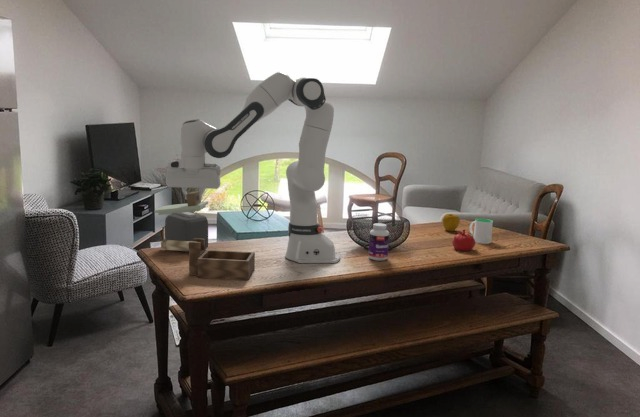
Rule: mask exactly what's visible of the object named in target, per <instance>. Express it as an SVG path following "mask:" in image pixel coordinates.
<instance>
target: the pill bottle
mask: <svg viewBox="0 0 640 417" xmlns="http://www.w3.org/2000/svg"><path fill="white" fill-rule="evenodd" d="M387 228H388V225H387V224H385V223H380V222H378V223H377V222H376V223H373V224H372V229H371V230H370V231H369V235H368V237H369V238H368V239H369V240H368V254H367V255H368V256H367V257H368V258H369V260H373V261H377V262H378V261H380V262H382V261H386V260H387V259H388V258H389V245H390V244H389V243H390V232H389V230H387Z"/></svg>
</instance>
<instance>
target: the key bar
mask: <svg viewBox="0 0 640 417" xmlns="http://www.w3.org/2000/svg"><path fill="white" fill-rule="evenodd" d="M189 242H195V241H174V240H166V239H163V240H162V241H161V242H160V250H161V251H180V252H182V251H189Z"/></svg>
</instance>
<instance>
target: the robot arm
mask: <svg viewBox="0 0 640 417" xmlns="http://www.w3.org/2000/svg"><path fill="white" fill-rule="evenodd" d="M324 89H325V88H324V86H323V84H322V82H321V81H320V79H318V78H316V77H314V76H302V77H299V78H298V79H293V78H291V77H290V75H288V74H287V73H285V72H283V71H277V72H275V73H273V74H271V75H270V76H268V77H267V78H265V79H264V80H262V81H261V83H259V84H258V85H256V87H255V88H253V90H252V91H251V92H250V93H249V94H248V95H247V97H246V99H245V103H244V105H243V108H242V110H241V111H240V112H239V113H238V114H237V115H236V116H235V117H234V118H232V119H231V120H230V121H229V123H227V124H226V125H225V126H223V127H221V128H217V127H215V126H213V125H211V124H209V123H206V122H205V121H204V120H203V119H200V118H199V119H198V118H197V119H190V120H186V121H184V122H183V123H182V124H181V128H180V146H181V152H180V158H177V159H175V160H171V161H169V162H168V163H167V166H168V169H167V170H166V175H165V184H166V186H167V187H168V188H181V192H182V193H183V195H184V199H185V200H187V197H186V194H188V191H187V190H188V189H199V192H200V195H197V200H201V201H202V200H203V195H204V193H205V191H206V189H212V190H214V189H215V190H217V189H219V188H220V187H221V177H220V175H221V167H220V166H219V165H218V164H216V163H206V153H207V154H208V155H209V156H211V157H213V158H216V159H222V158H223V159H224V158H226V157H227V156H229V155H230V154H231V153H232V151H233V150H234V146H235V144H236V143H237V141H238V140H239V138H241V137H242V136H243V135H244V134H245V133H246V132H247V131H248V130H249V129H250V128H251V127H252V126H253V125H255V124H256V123H257V122H259V121H260V120H262V119H263V118H265V117H268V116H269V115H271V113H274V112H275V111H276V110H277V109H278V108H279V107H280V106H281V105H282V104H283V103H285V102H286V101H289V102H291V103H292V104H294V105H296V106H298V107H304V109H305V120H304V123H303V126H302V130H301V134H300V137H299V140H298V141H299V142H298V160H295V161H293V162H290V164H288V166H287V168H286V170H285V175H286V180H287V189H288V190H287V191H288V196H289V198H288V199H289V222H288V225H287V226H288V228H287V230H288V231H287V233H288V242H287V248H286V252H285V255H284V257H285V258H286V259H288V260H290V261H293V262H295V263H298V264H330V263H331V264H336V263H338V262H339V261H341V260H340V259H341V255H340V253H339V252H337V251H336V249H335V248H336V247H335V244H334V242H333V241H332V239H330V238H329V237H328V236H326V235H325V234H324V233H323V226H322V224H321V223H318V202H317V198H316V192H317V191H319V190H320V189H322V188H323V186H324V185H325V182H326V181H325V180H326V177H325V163H326V162H325V161H326V152H327V147H328V144H329V140H330V135H331V133H332V128H333V127H332V126H333V122H334V112H335V111H334V110H335V109H334V107H333V105H332V104H331V103H330V102H329V101H326V100H327V99H326V95H325V90H324Z"/></svg>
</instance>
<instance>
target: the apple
mask: <svg viewBox="0 0 640 417" xmlns="http://www.w3.org/2000/svg"><path fill="white" fill-rule="evenodd" d="M459 224H460V217H459V216H458V215H456V214H453V213H446V214H444V215H443V217H442V225H443V228H444V230H445V231H447V232H454V231H455V230H457V228H458V227H459Z"/></svg>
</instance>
